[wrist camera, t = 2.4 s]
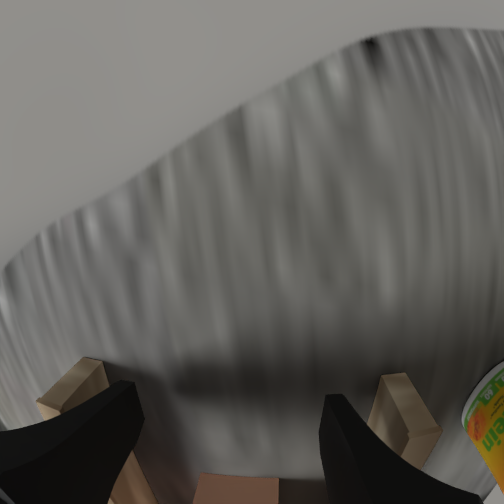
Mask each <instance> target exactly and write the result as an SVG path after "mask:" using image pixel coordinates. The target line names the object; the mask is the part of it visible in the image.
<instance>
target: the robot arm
mask: <svg viewBox="0 0 504 504" xmlns="http://www.w3.org/2000/svg"><path fill="white" fill-rule="evenodd" d="M144 420H145V418H144V415H143V411H142V408H141V404H140V401H139V397H138V394H137V390H136V386H135V382H130V381H125V380H120V381H118V382H116V383H115V384H113V385H111V386H110V387H108V388H106V389H105V390H103V391H102V392H100V393H98V394H97V395H95V396H93V397H92V398H90V399H88V400H87V401H85V402H83V403H81V404H80V405H78V406H76V407H74V408H72V409H70V410H68V411H66V412H64V413H62V414H60V415H58V416H56V417H53V418H51V419H48V420H46V421H43V422H40V423H37V424H34V425H30V426H27V427H23V428H19V429H14V430H8V431H1V432H0V504H108V501H109V498H110V495H111V492H112V489H113V487H114V484H115V482H116V480H117V478H118V476H119V474H120V472H121V470H122V468H123V466H124V464H125V462H126V461H127V459H128V457H129V455H130V453H131V451H132V449H133V447H134V445H135V444H136V442H137V440H138V437H139V434H140V432H141V429H142V426H143V423H144ZM319 443H320V455H321V460H322V465H323V470H324V475H325V480H326V485H327V490H328V495H329V500H330V504H483V502H482V500H481V498H480V497H479V495H477V494H474V493H470V492H467V491H464V490H461V489H458V488H455V487H452V486H450V485H448V484H445V483H443V482H441V481H439V480H437V479H435V478H433V477H431V476H429V475H427V474H426V473H424V472H422V471H421V470H419V469H417V468H416V467H414V466H412V465H411V464H410V463H408V462H407V461H405V460H404V459H403V458H402V457H400V456H399V455H398V454H396V453H395V452H394V451H393V450H392V449H391V448H390V447H388V446H387V445H386V444H385V443H384V442H383V441H382V440H381V439H380V438H379V437H378V436H377V435H376V434H375V433H374V432H373V431H372V429H371V428H370V427H369V426H368V425H367V424H366V423H365V422H364V421H363V419H362V418H361V417H360V416H359V415H358V413H357V412H356V411H355V410H354V408H353V407H352V406H351V404H350V403H349V402H348V400H347V399H346V398H345V396H344V395H343V394H331V395H325V401H324V407H323V412H322V418H321V423H320V428H319Z"/></svg>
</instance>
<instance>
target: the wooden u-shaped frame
mask: <svg viewBox="0 0 504 504" xmlns="http://www.w3.org/2000/svg"><path fill="white" fill-rule="evenodd" d="M108 387H110V386H109V383H108V380H107V376H106V373H105V369H104V366H103V362H102V361H99V360H94V359H89V358H85V357H83V358H82V359H81V360H80V361H79V362H77V363H76V364H75V365H74V366H73V367H72V368H71V369H70V370H69V371H68V372H67V373H66V374H65V375H64V376H63V377H62V378H61V379H60V380H59V381H58V382H57V383H56V384H55V385H54V386H53V387H52V388H51V389H50V390H49V391H48V392H47V393H46V394H45V395H44V396H43V397H42V398H40V397H39V398H38V399H37V400H36V403H37V405H38V407H39V410H40V412H41V414H42V416H43V418H44V420H45V421H46V420H48V419H51V418H53V417H56V416H58V415H60V414H62V413H64V412H66V411H68V410H70V409H72V408H74V407H76V406H78V405H80V404H81V403H83V402H85V401H87V400H88V399H90V398H92V397H93V396H95V395H97V394H98V393H100V392H102V391H103V390H105V389H106V388H108ZM367 425H368V426H369V427H370V428H371V429H372V431H373V432H374V433H375V434H376V435H377V436H378V437H379V438H380V439H381V440H382V441H383V442H384V443H385V444H386V445H387V446H388V447H390V448H391V449H392V450H393V451H394V452H395V453H396V454H398V455H399V456H400V457H402V458H403V459H404V460H405V461H407V462H408V463H410V464H411V465H412V466H414V467H416V468H417V469H419V470H421V468H422V467H423V465H424V463H425V462H426V460H427V458H428V457H429V455H430V453H431V452H432V450H433V448H434V446H435V445H436V443H437V441H438V439H439V437H440V435H441V433H442V432H443V430H442V428H441V426H438V425H437V424H436V422H435V420H434V419H433V417H432V415H431V414H430V412H429V410H428V409H427V407H426V405H425V404H424V402H423V400H422V399H421V397H420V395H419V394H418V392H417V391H416V389H415V387H414V386H413V384H412V383H411V381H410V379H409V378H408V376H407V375H406V373H405V372H404V373H397V374H388V375H381V378H380V381H379V385H378V389H377V393H376V396H375V400H374V403H373V406H372V410H371V413H370V416H369V419H368V422H367ZM108 504H158V502H157V500H156V498H155V496H154V494H153V492H152V490H151V488H150V486H149V484H148V482H147V480H146V478H145V476H144V474H143V472H142V470H141V468H140V466H139V463H138V461H137V459H136V457H135V454H134V452H133V450H132V451H131V453H130V455H129V457H128V459H127V461H126V462H125V464H124V466H123V468H122V470H121V472H120V474H119V476H118V478H117V480H116V482H115V484H114V487H113V489H112V492H111V495H110V498H109V501H108Z"/></svg>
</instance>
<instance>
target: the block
mask: <svg viewBox="0 0 504 504" xmlns="http://www.w3.org/2000/svg"><path fill="white" fill-rule="evenodd" d="M278 497H279V478H256V477H239V476H227V475H217V474H209V473H200V477H199V481H198V485H197V488H196V492H195V496H194V499H193V503H192V504H278Z"/></svg>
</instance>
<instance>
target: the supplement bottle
mask: <svg viewBox="0 0 504 504" xmlns="http://www.w3.org/2000/svg"><path fill="white" fill-rule="evenodd" d="M462 425H463V427H464V428H465V430H466V432H467V433H468V435H469V437H470V438H471V440H472V441H473V443H474V444H475V446H476V448H477V449H478V451H479V453H480V454H481V456H482V457H483V459H484V461H485V462H486V464H487V466H488V467H489V469H490V471H491V473H492V474H493V476H494V478H495V480H496V482H497V483H498V485H499V487H500V489H501V491H502V492H503V494H504V361H503V362H501V363H500V364H498V365H497V366H496V367H494V368H493V369H492V370H491V371H490V372H489V373H488V374H486V376H485V377H484V378H483V379H482V380H481V381H480V382H479V384H478V385H477V386H476V388H475V389H474V390H473V392H472V393H471V395H470V397H469V398H468V400H467V402H466V404H465V406H464V409H463V412H462Z"/></svg>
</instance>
